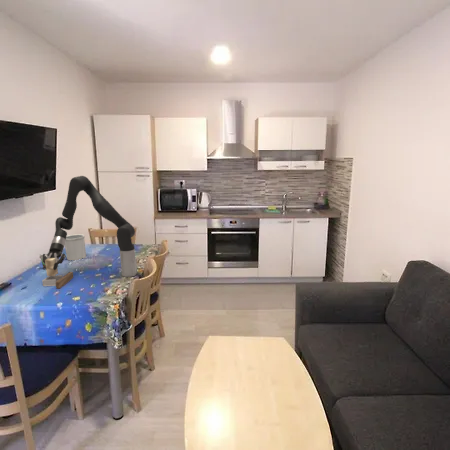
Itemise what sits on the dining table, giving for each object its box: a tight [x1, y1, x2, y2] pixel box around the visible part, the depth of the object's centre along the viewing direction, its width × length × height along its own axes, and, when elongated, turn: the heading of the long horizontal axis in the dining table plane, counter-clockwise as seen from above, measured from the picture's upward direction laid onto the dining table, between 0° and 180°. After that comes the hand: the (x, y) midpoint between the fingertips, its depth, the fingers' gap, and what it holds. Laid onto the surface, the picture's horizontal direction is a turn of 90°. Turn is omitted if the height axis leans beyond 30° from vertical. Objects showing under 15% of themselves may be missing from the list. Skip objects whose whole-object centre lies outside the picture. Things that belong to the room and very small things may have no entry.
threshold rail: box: [55, 271, 74, 290], centre depth 198 cm, size 2×18×4 cm, turn 1°
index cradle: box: [41, 274, 63, 287], centre depth 198 cm, size 8×8×4 cm
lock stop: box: [45, 258, 59, 277], centre depth 196 cm, size 4×4×10 cm
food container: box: [39, 254, 49, 270], centre depth 227 cm, size 12×6×10 cm, turn 105°
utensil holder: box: [64, 233, 87, 261], centre depth 249 cm, size 15×15×18 cm
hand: (50, 269), depth 195 cm, fingers closed on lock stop, 4 cm apart
